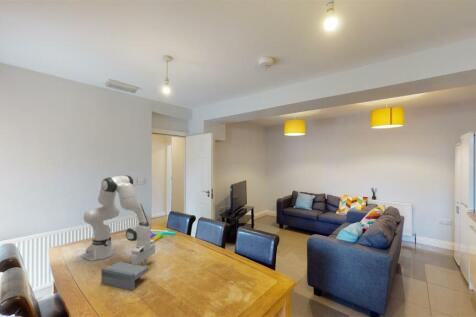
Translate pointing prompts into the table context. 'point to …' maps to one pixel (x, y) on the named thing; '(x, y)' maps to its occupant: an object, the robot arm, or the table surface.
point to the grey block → (122, 275)
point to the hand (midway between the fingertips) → (144, 265)
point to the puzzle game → (158, 235)
